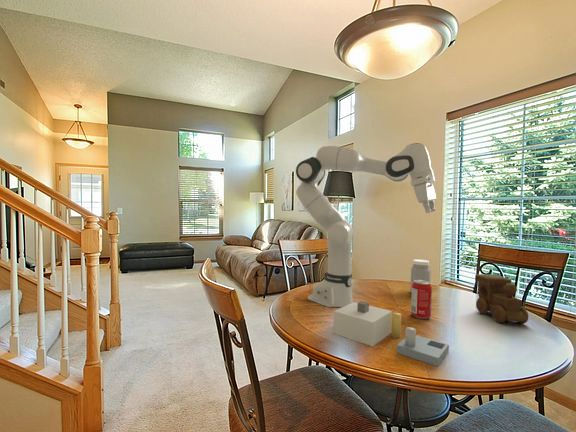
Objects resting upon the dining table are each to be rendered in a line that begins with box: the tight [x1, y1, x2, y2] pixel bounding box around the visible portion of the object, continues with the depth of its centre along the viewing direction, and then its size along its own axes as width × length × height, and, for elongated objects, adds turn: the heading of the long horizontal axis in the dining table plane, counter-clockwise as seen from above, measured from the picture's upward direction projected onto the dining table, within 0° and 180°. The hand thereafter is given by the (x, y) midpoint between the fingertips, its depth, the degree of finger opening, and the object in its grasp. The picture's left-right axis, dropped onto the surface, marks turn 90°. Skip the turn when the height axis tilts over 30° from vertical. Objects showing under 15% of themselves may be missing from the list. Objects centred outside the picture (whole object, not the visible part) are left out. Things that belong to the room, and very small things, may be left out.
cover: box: [332, 300, 393, 347], centre depth 108 cm, size 15×15×11 cm
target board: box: [396, 326, 450, 367], centre depth 94 cm, size 12×12×8 cm
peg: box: [391, 312, 402, 339], centre depth 106 cm, size 3×3×8 cm
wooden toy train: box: [474, 273, 529, 324], centre depth 127 cm, size 20×11×17 cm, turn 0°
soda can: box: [410, 280, 433, 320], centre depth 126 cm, size 8×8×15 cm
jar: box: [410, 258, 432, 293], centre depth 162 cm, size 10×10×18 cm
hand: (430, 212), depth 126 cm, fingers open, 8 cm apart
